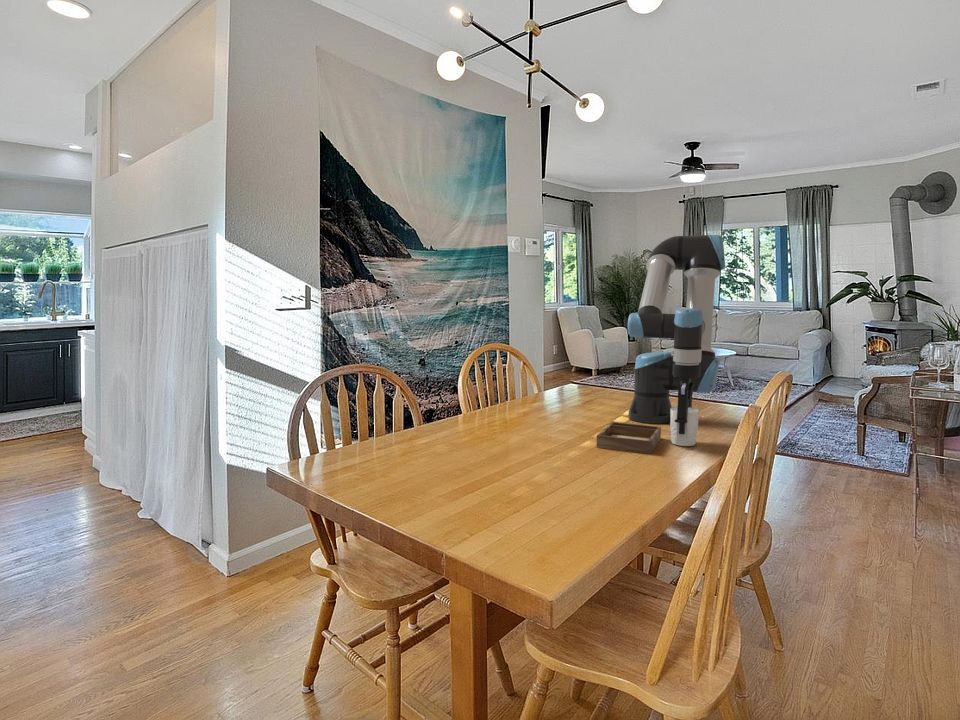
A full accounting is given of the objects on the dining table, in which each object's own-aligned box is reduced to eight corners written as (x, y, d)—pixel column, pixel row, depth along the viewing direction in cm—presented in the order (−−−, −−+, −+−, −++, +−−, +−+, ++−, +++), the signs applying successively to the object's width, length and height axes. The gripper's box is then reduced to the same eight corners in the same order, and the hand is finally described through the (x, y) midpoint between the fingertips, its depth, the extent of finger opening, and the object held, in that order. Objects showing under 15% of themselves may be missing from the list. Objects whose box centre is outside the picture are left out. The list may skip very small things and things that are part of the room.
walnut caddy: (611, 432, 178) (611, 421, 178) (660, 438, 172) (661, 426, 171) (596, 447, 162) (596, 435, 162) (650, 454, 156) (650, 441, 155)
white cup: (699, 447, 161) (701, 413, 159) (670, 446, 162) (672, 412, 161) (695, 439, 168) (696, 407, 167) (667, 438, 170) (668, 406, 168)
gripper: (677, 357, 173) (674, 430, 176) (667, 367, 154) (664, 448, 158) (703, 359, 169) (700, 433, 172) (697, 369, 151) (693, 452, 154)
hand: (683, 440), depth 165 cm, fingers closed on white cup, 8 cm apart
